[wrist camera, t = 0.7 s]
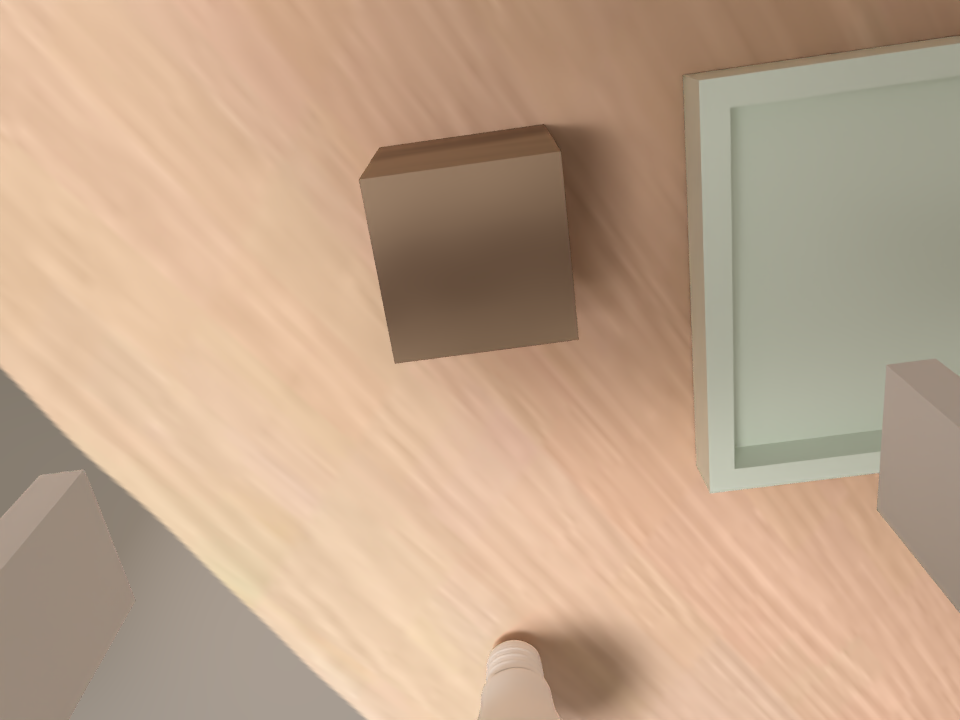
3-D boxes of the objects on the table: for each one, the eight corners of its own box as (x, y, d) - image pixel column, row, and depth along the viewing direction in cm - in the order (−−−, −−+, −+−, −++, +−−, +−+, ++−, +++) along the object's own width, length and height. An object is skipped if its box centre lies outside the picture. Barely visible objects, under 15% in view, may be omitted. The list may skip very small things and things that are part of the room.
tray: (682, 75, 28) (698, 80, 26) (1151, 7, 28) (1204, 7, 26) (696, 465, 35) (710, 493, 33) (1077, 418, 34) (1115, 444, 32)
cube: (379, 147, 29) (358, 179, 24) (543, 124, 29) (561, 151, 24) (407, 301, 32) (394, 363, 26) (559, 281, 32) (578, 339, 26)
